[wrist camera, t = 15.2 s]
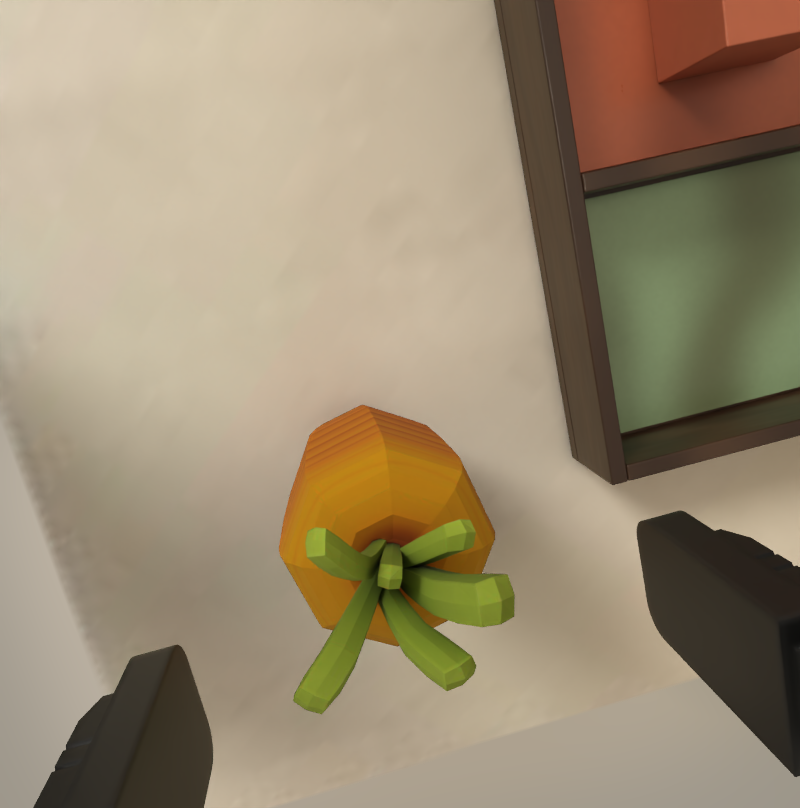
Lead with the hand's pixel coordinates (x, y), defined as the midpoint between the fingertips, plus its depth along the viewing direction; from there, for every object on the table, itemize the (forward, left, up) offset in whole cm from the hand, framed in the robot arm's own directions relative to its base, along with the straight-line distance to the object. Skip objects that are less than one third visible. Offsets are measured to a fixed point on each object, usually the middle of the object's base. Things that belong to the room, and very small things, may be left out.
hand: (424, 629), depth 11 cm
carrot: (0, 0, -14) cm, 14 cm away
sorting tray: (+15, +7, -14) cm, 22 cm away
